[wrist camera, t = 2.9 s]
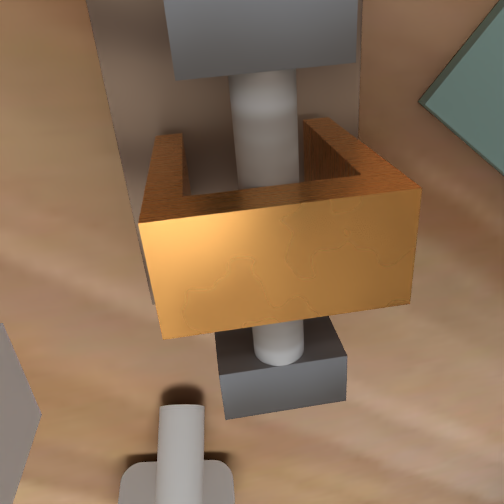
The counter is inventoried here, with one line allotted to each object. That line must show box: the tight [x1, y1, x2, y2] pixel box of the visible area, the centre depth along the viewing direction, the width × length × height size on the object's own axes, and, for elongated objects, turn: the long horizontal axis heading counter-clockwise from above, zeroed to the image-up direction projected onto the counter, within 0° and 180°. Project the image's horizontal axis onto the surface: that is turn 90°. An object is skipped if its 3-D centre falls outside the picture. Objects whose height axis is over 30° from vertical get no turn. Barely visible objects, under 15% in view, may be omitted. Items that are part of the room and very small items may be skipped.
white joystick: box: [118, 404, 235, 504], centre depth 31 cm, size 8×10×10 cm
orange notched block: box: [138, 117, 422, 340], centre depth 18 cm, size 4×8×10 cm, turn 95°
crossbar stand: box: [86, 0, 363, 420], centre depth 20 cm, size 16×12×11 cm
